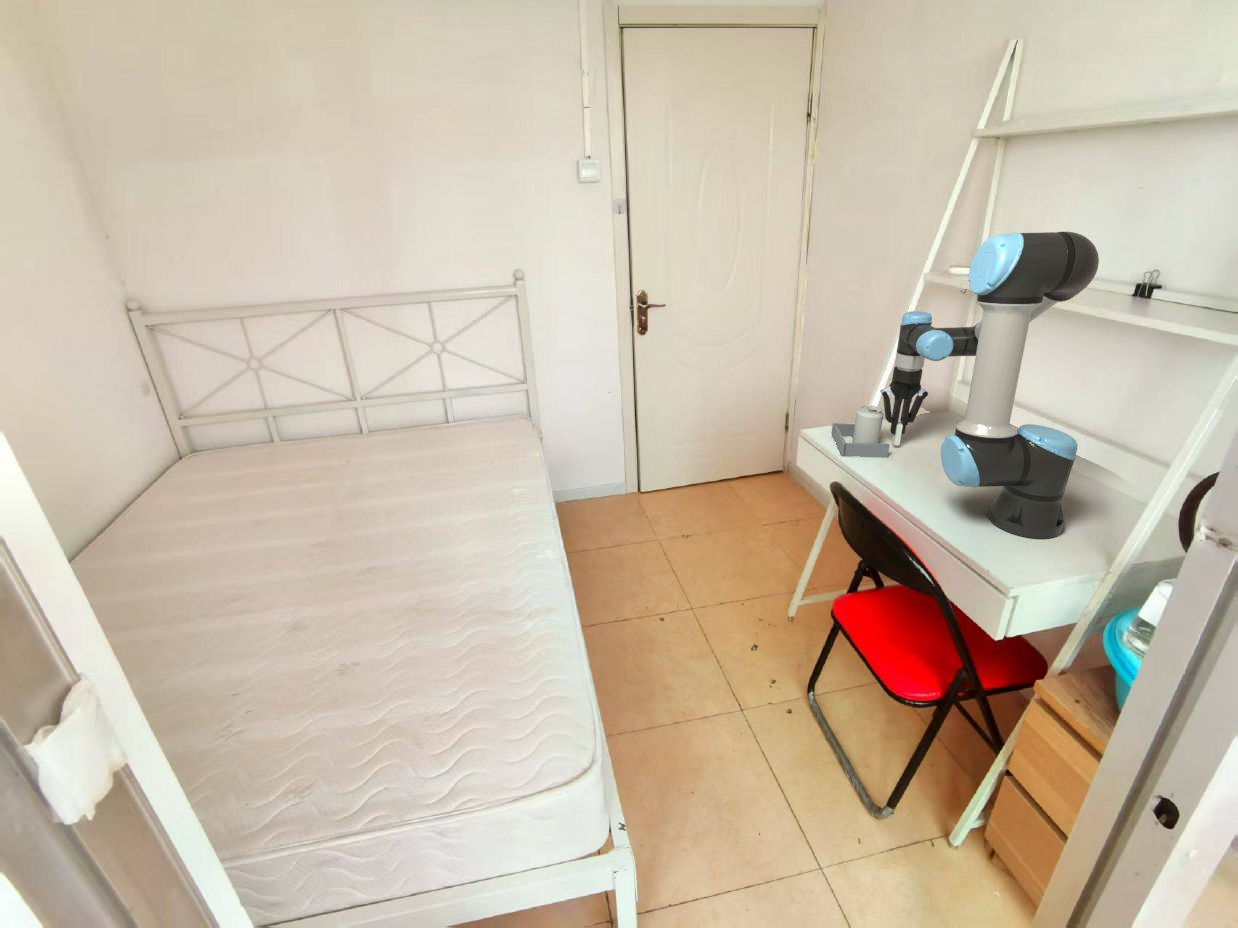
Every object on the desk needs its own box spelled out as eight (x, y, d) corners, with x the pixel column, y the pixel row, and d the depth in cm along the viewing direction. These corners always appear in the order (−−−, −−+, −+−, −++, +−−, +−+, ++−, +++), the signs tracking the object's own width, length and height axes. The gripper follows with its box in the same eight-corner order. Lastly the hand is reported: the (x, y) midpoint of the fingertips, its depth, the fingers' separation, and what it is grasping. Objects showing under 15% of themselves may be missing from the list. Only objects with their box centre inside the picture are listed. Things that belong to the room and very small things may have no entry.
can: (861, 451, 186) (868, 413, 181) (846, 442, 193) (852, 405, 188) (883, 448, 188) (890, 410, 183) (867, 439, 195) (873, 402, 190)
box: (887, 457, 182) (889, 444, 181) (841, 456, 184) (842, 444, 182) (874, 435, 197) (875, 424, 195) (831, 435, 198) (832, 423, 197)
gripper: (927, 363, 181) (913, 438, 191) (880, 363, 182) (869, 438, 192) (937, 371, 174) (922, 448, 184) (888, 371, 176) (876, 448, 186)
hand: (895, 443), depth 188 cm, fingers closed
